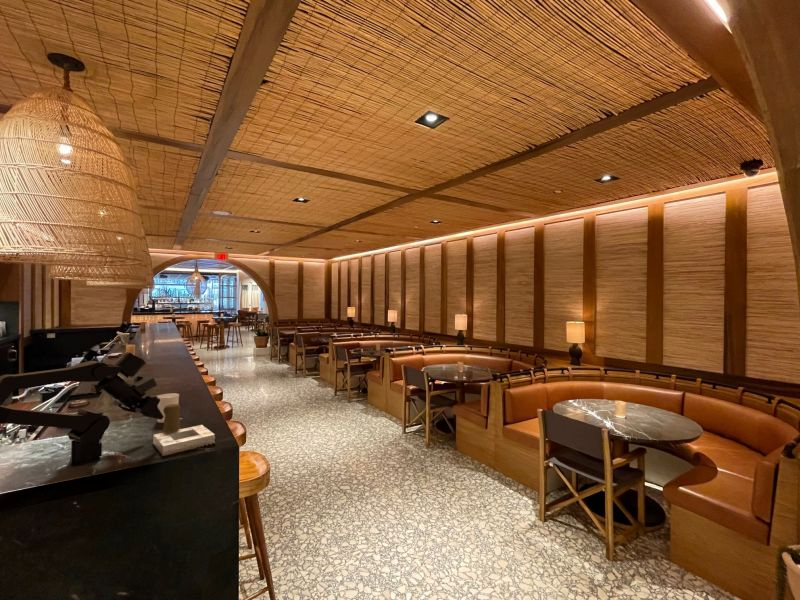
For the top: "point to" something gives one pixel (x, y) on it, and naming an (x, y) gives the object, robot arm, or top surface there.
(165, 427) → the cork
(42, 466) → the top surface
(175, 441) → the socket block
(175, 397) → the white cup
